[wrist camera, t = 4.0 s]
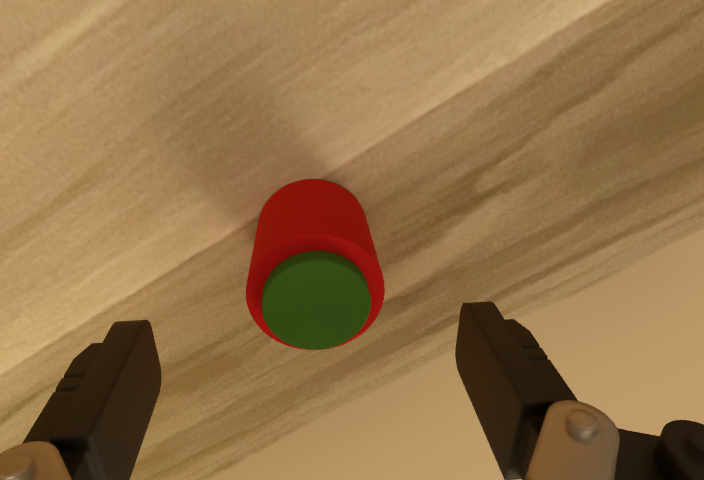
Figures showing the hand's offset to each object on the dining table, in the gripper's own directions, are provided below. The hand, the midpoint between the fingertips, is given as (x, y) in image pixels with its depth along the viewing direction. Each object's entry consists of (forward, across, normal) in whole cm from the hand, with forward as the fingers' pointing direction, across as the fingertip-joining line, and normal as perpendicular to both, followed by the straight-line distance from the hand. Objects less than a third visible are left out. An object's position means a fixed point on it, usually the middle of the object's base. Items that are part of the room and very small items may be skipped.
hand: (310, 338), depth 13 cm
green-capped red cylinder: (+7, 0, 0) cm, 7 cm away
